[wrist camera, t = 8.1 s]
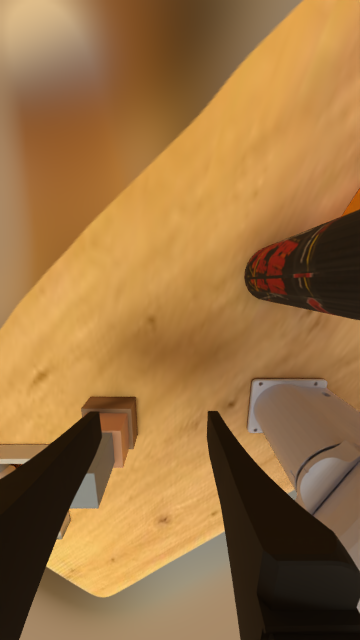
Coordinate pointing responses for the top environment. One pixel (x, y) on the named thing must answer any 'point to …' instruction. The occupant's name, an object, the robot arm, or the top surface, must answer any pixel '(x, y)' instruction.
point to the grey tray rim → (20, 456)
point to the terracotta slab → (117, 434)
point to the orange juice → (353, 204)
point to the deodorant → (312, 269)
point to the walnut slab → (115, 411)
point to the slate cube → (96, 476)
